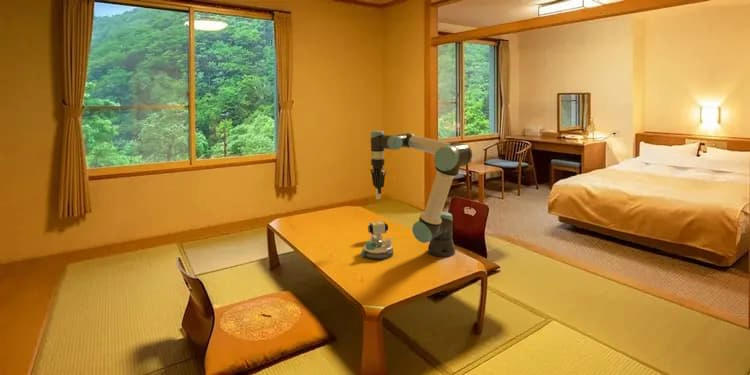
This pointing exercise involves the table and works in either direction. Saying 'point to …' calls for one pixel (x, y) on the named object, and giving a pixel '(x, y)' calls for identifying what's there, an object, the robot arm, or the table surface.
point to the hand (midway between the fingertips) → (378, 198)
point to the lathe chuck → (378, 245)
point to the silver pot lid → (376, 255)
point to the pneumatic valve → (378, 229)
